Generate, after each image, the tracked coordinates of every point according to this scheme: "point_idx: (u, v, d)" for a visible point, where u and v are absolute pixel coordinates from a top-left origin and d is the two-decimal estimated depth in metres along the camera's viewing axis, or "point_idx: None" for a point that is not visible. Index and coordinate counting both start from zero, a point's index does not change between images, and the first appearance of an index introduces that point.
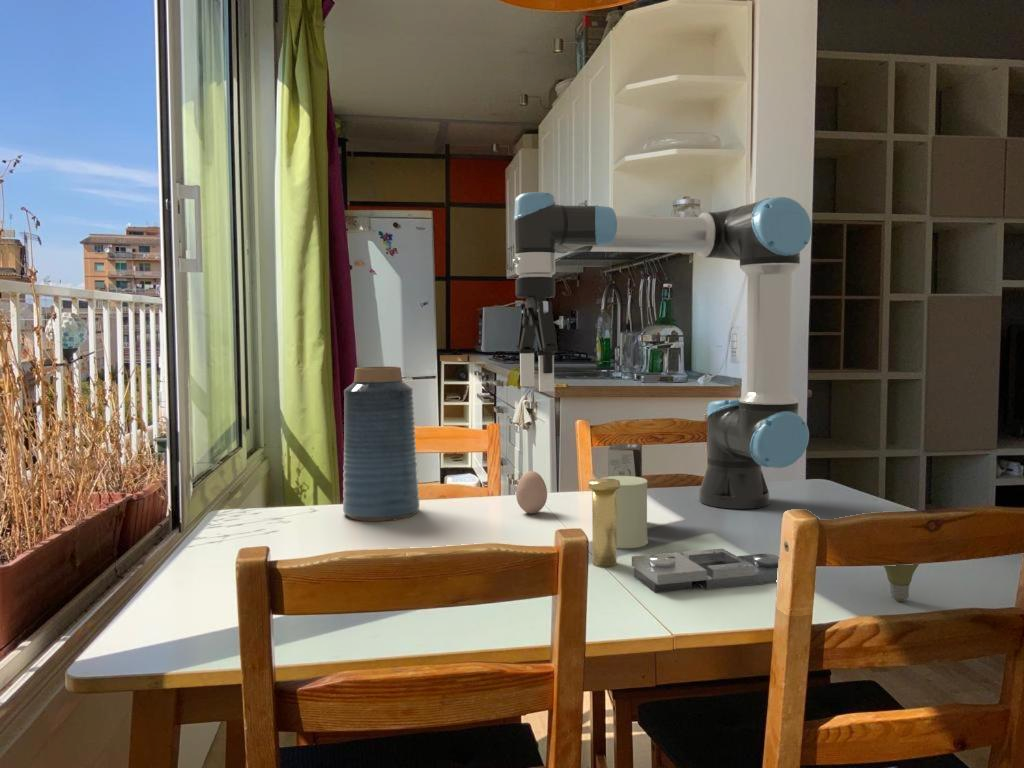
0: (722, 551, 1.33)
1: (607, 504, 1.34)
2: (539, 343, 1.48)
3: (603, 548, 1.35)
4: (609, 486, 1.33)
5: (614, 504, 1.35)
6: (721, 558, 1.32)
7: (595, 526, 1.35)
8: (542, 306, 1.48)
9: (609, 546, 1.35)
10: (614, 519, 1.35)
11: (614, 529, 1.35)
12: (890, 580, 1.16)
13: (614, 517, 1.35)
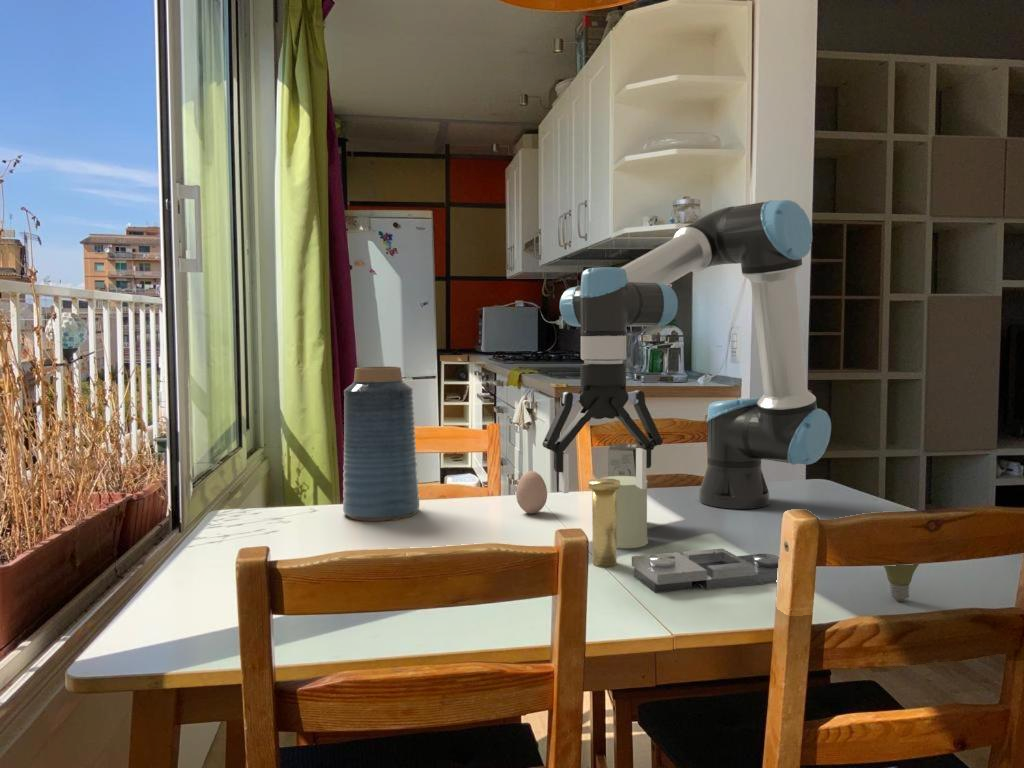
0: (722, 551, 1.33)
1: (607, 504, 1.34)
2: None
3: (603, 548, 1.35)
4: (609, 486, 1.33)
5: (614, 504, 1.35)
6: (721, 558, 1.32)
7: (595, 526, 1.35)
8: (562, 397, 1.34)
9: (609, 546, 1.35)
10: (614, 519, 1.35)
11: (614, 529, 1.35)
12: (890, 580, 1.16)
13: (614, 517, 1.35)
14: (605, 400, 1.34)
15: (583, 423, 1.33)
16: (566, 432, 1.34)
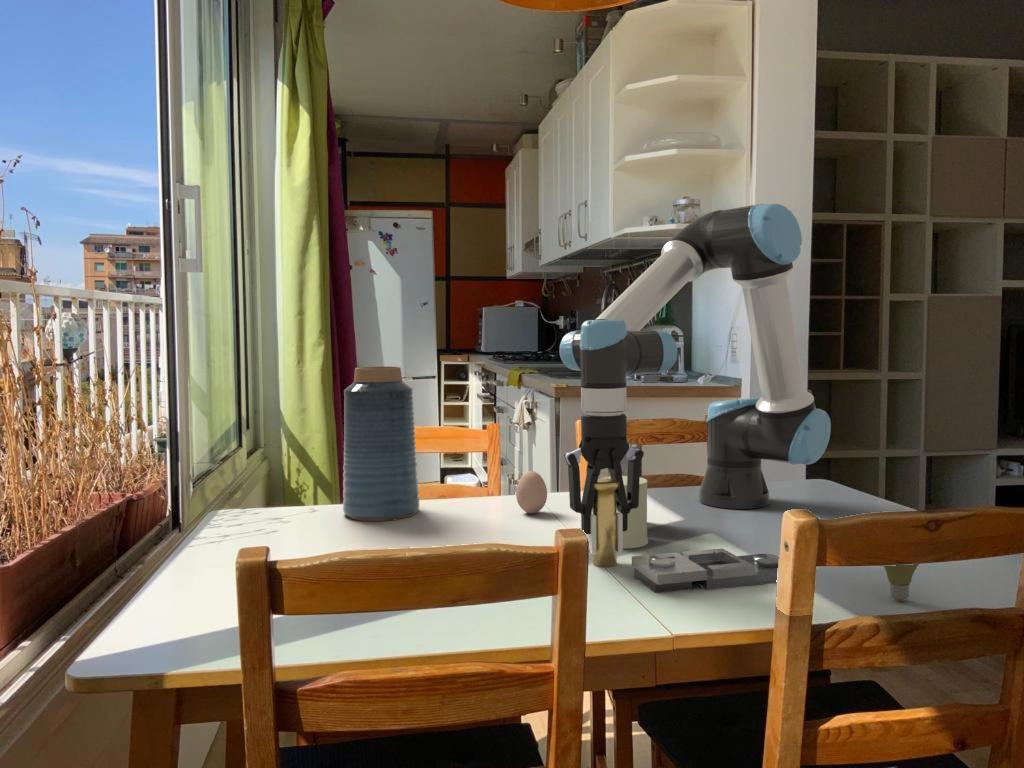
0: (722, 551, 1.33)
1: (607, 504, 1.34)
2: None
3: (603, 548, 1.35)
4: (609, 486, 1.33)
5: (614, 504, 1.35)
6: (721, 558, 1.32)
7: None
8: (566, 459, 1.35)
9: (609, 546, 1.35)
10: (614, 519, 1.35)
11: (614, 529, 1.35)
12: (890, 580, 1.16)
13: (614, 517, 1.35)
14: (606, 451, 1.34)
15: (596, 478, 1.34)
16: (585, 493, 1.35)
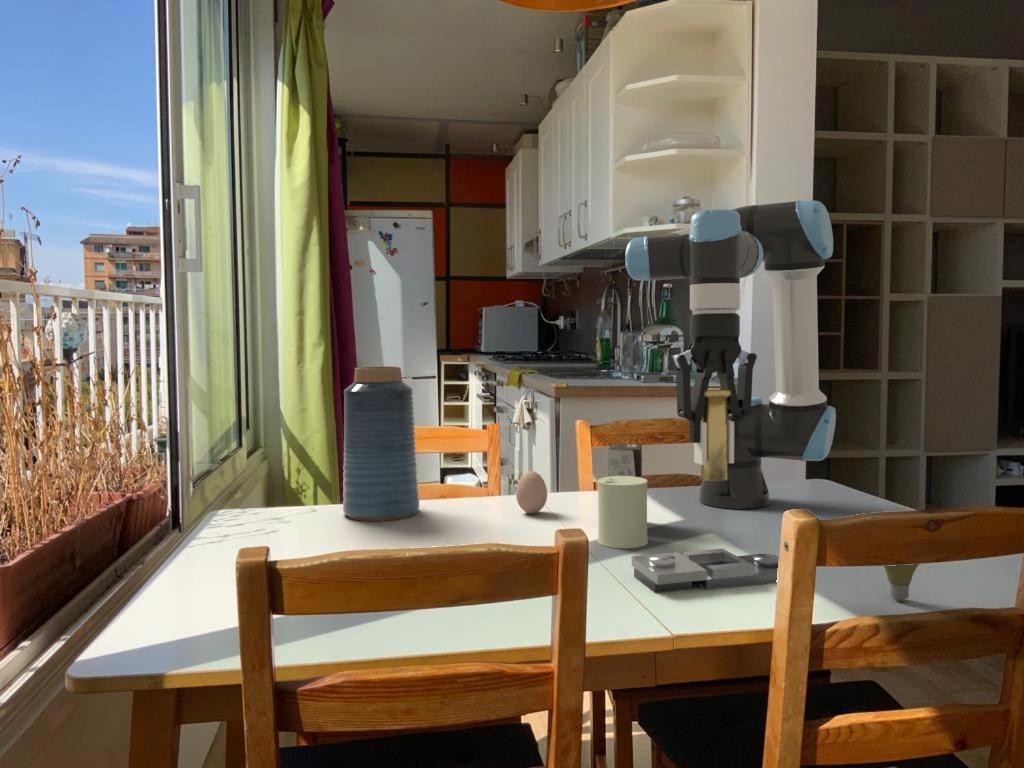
0: (722, 551, 1.33)
1: (718, 412, 1.25)
2: None
3: (714, 460, 1.25)
4: (722, 393, 1.24)
5: (726, 413, 1.25)
6: (721, 558, 1.32)
7: None
8: (674, 362, 1.25)
9: (721, 459, 1.25)
10: (726, 430, 1.26)
11: (726, 440, 1.26)
12: (890, 580, 1.16)
13: (726, 427, 1.26)
14: (717, 353, 1.25)
15: (707, 382, 1.25)
16: (694, 398, 1.26)
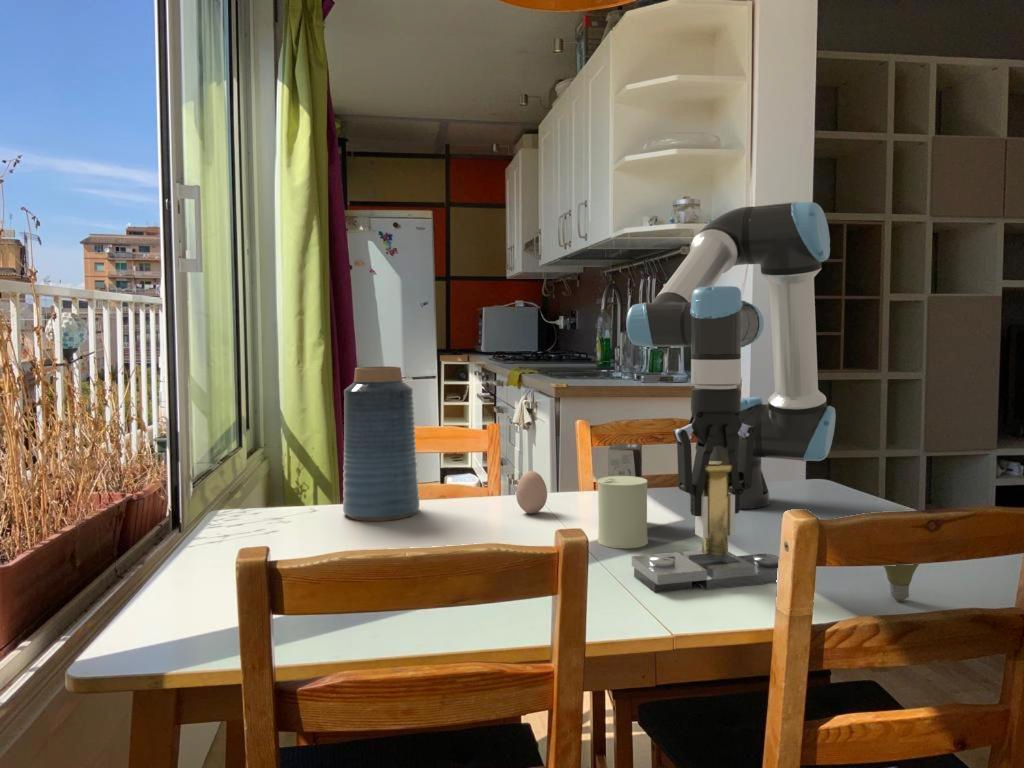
0: None
1: (719, 487, 1.25)
2: None
3: (715, 534, 1.26)
4: (723, 469, 1.25)
5: (727, 488, 1.26)
6: (721, 558, 1.32)
7: None
8: (676, 436, 1.26)
9: (722, 533, 1.26)
10: (727, 504, 1.26)
11: (726, 514, 1.26)
12: (890, 580, 1.16)
13: (727, 502, 1.26)
14: (718, 427, 1.26)
15: (708, 456, 1.26)
16: (695, 472, 1.27)
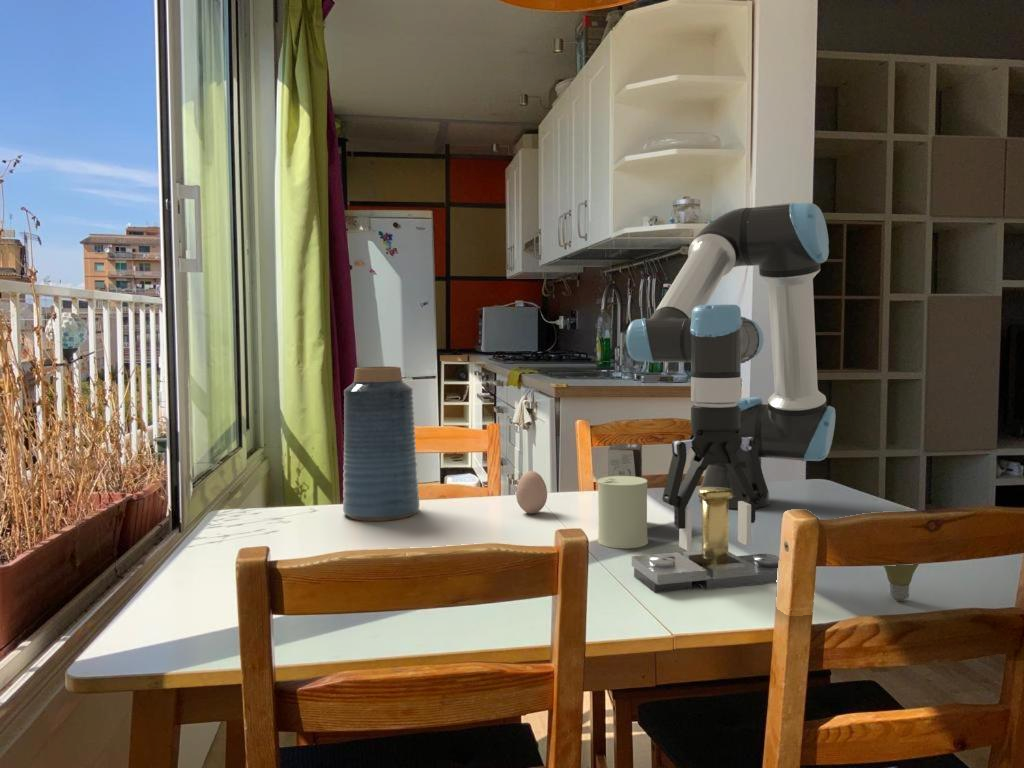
0: None
1: (720, 514, 1.26)
2: None
3: (716, 561, 1.26)
4: (723, 496, 1.25)
5: (727, 514, 1.27)
6: None
7: (707, 538, 1.27)
8: (673, 447, 1.26)
9: (722, 559, 1.26)
10: (727, 530, 1.27)
11: (727, 541, 1.27)
12: (890, 580, 1.16)
13: (727, 528, 1.27)
14: (718, 445, 1.26)
15: (700, 472, 1.25)
16: (684, 484, 1.26)
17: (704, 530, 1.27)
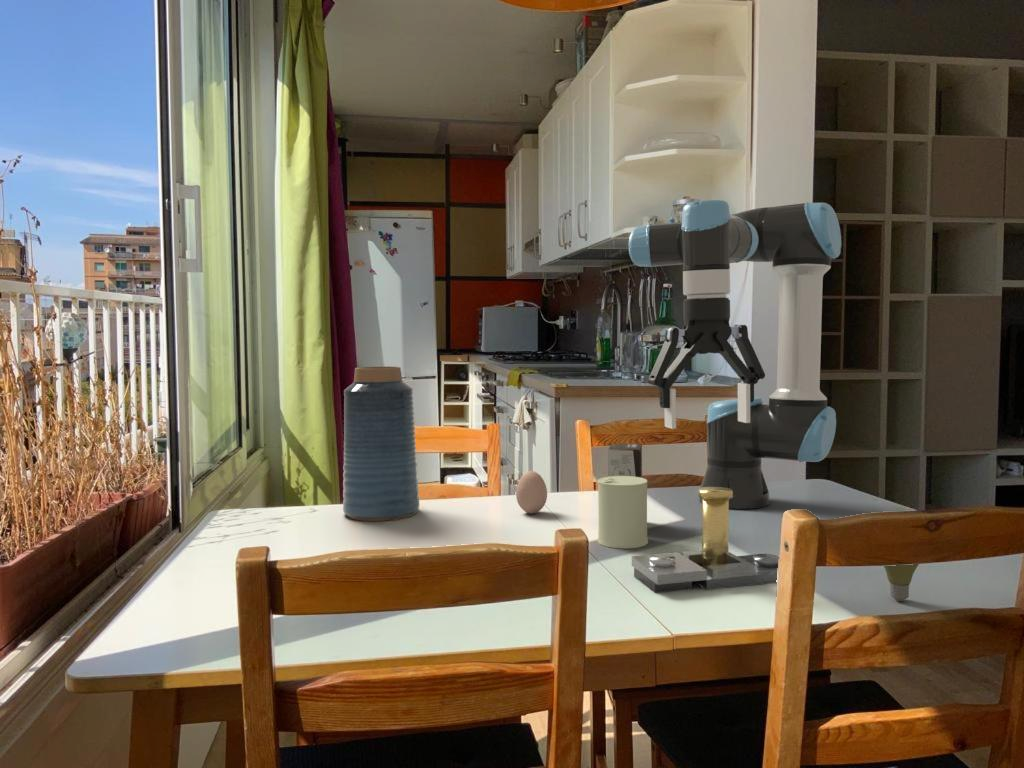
0: None
1: (720, 514, 1.26)
2: None
3: (716, 561, 1.26)
4: (723, 496, 1.25)
5: (727, 514, 1.27)
6: None
7: (707, 538, 1.27)
8: (667, 333, 1.33)
9: (722, 559, 1.26)
10: (727, 530, 1.27)
11: (727, 541, 1.27)
12: (890, 580, 1.16)
13: (727, 528, 1.27)
14: (710, 335, 1.33)
15: (689, 358, 1.33)
16: (671, 368, 1.34)
17: (704, 530, 1.27)
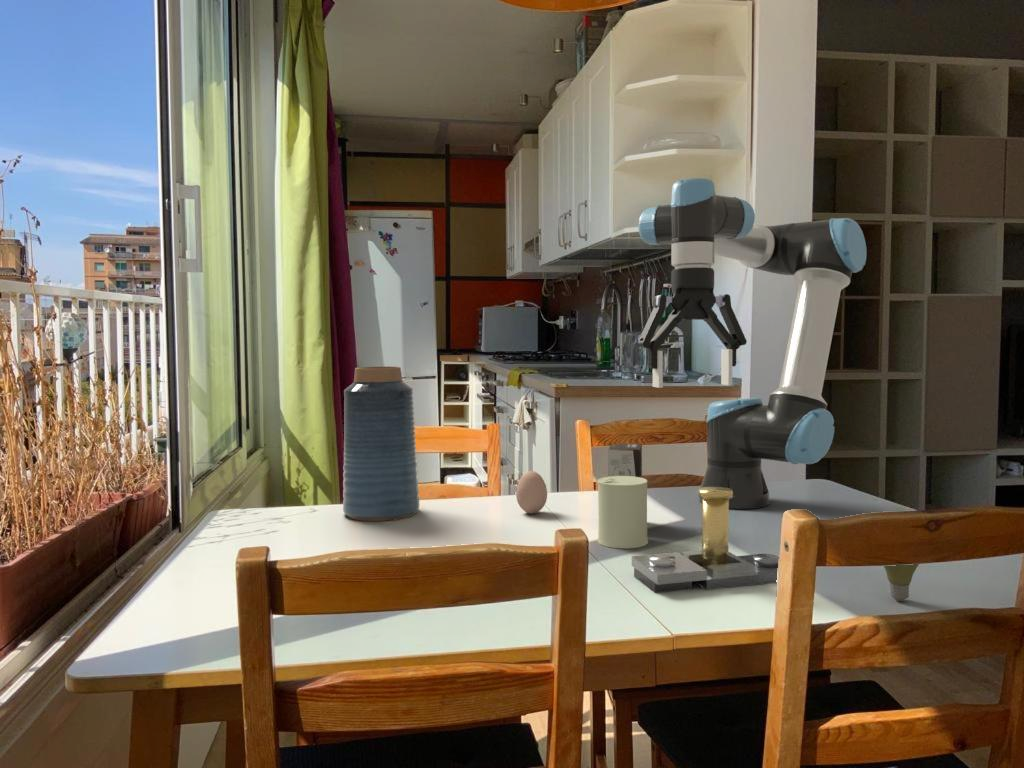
0: None
1: (720, 514, 1.26)
2: None
3: (716, 561, 1.26)
4: (723, 496, 1.25)
5: (727, 514, 1.27)
6: None
7: (707, 538, 1.27)
8: (655, 300, 1.45)
9: (722, 559, 1.26)
10: (727, 530, 1.27)
11: (727, 541, 1.27)
12: (890, 580, 1.16)
13: (727, 528, 1.27)
14: (695, 302, 1.45)
15: (675, 323, 1.44)
16: (659, 332, 1.45)
17: (704, 530, 1.27)
